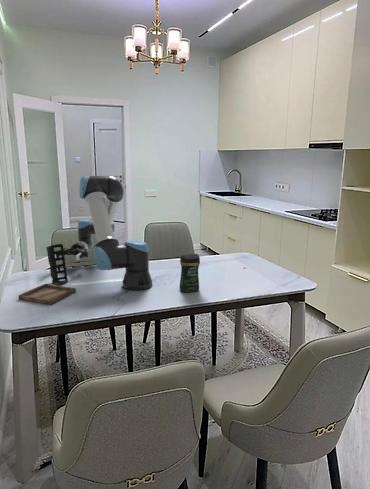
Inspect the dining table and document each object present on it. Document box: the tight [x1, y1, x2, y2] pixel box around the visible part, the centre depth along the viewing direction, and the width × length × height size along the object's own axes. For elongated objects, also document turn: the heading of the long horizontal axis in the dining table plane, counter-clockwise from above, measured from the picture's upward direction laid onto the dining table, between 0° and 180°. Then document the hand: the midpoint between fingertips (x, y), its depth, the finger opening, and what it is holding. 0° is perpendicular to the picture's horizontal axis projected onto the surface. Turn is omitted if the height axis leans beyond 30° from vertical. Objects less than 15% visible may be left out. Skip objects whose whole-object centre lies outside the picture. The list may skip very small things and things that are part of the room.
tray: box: [17, 283, 77, 306], centre depth 175 cm, size 18×18×2 cm
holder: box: [46, 243, 69, 286], centre depth 191 cm, size 11×8×20 cm
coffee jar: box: [179, 253, 201, 293], centre depth 183 cm, size 10×8×19 cm
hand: (64, 257), depth 200 cm, fingers open, 13 cm apart
